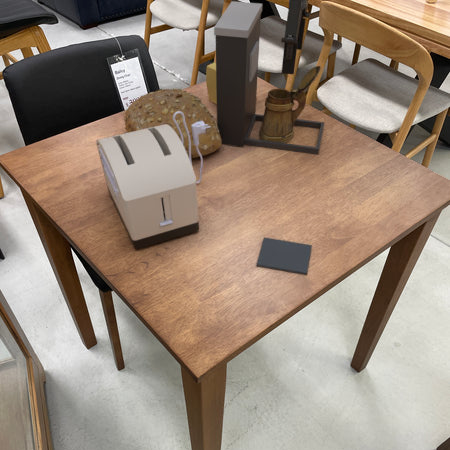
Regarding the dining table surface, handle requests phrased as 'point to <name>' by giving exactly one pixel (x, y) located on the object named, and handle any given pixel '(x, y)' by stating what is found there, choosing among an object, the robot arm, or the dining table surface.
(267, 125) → the wooden mug
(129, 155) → the toaster
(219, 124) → the coffee maker
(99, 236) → the dining table surface
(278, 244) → the mat
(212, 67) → the cheese
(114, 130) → the dining table surface
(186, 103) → the bread
